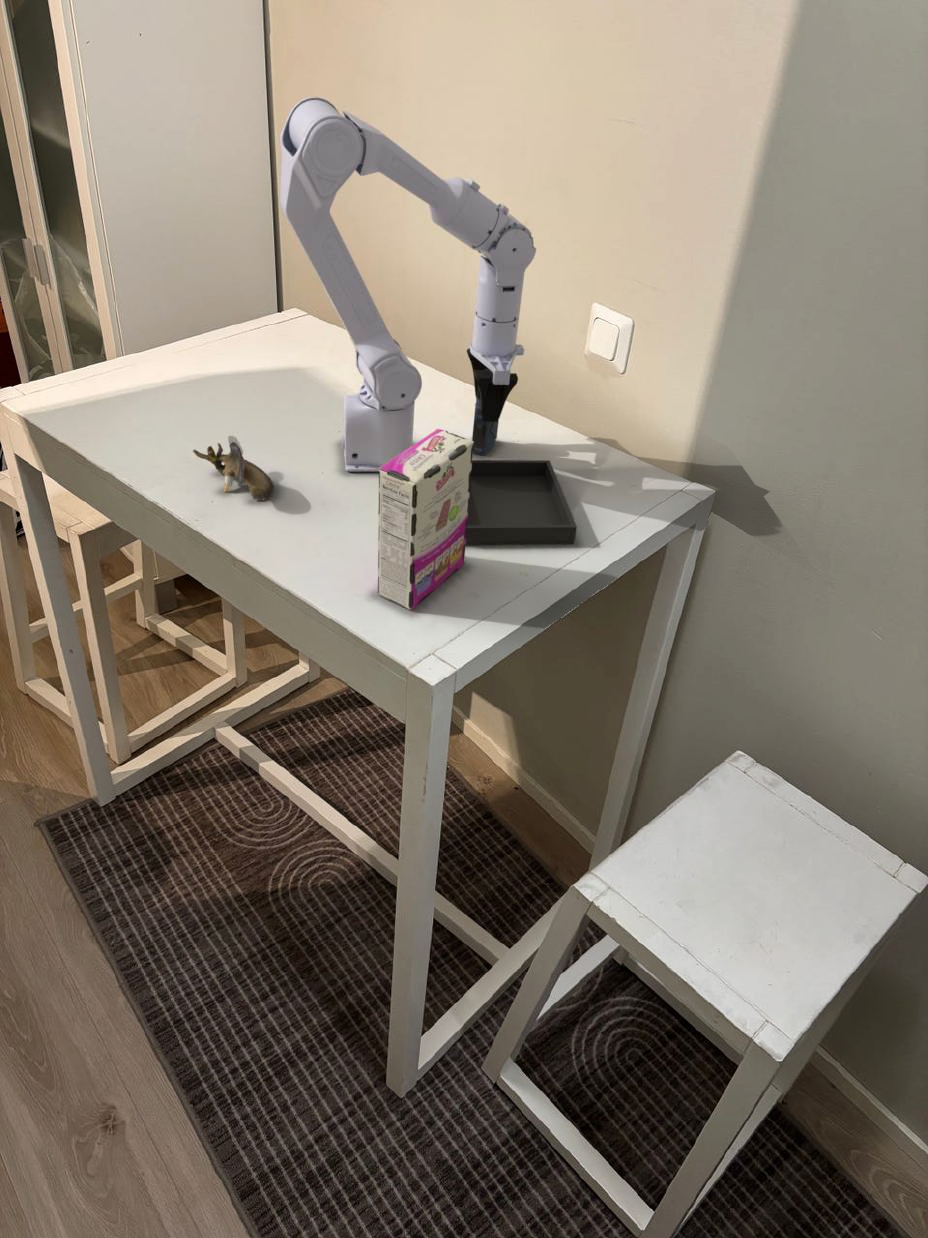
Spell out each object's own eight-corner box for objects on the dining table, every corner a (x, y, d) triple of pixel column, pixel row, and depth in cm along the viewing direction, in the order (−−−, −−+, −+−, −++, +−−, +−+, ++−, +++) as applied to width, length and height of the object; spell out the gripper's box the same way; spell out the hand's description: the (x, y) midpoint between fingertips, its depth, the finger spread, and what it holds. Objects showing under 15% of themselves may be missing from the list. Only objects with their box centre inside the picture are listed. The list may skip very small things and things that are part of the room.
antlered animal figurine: (184, 481, 120) (235, 495, 115) (197, 425, 119) (249, 436, 114) (229, 492, 126) (278, 505, 122) (241, 438, 126) (291, 450, 121)
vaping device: (467, 453, 134) (475, 371, 126) (481, 437, 137) (489, 357, 130) (485, 457, 133) (493, 376, 125) (498, 441, 137) (507, 362, 129)
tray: (459, 545, 116) (461, 528, 114) (443, 476, 128) (444, 459, 126) (574, 544, 118) (577, 527, 116) (547, 476, 130) (549, 460, 129)
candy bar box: (429, 550, 114) (438, 425, 104) (465, 566, 112) (477, 440, 102) (373, 595, 107) (376, 465, 96) (410, 613, 105) (418, 482, 94)
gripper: (538, 337, 118) (525, 436, 127) (517, 294, 129) (506, 387, 138) (482, 336, 117) (472, 436, 126) (465, 292, 128) (458, 387, 137)
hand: (487, 411), depth 132 cm, fingers closed on vaping device, 5 cm apart
